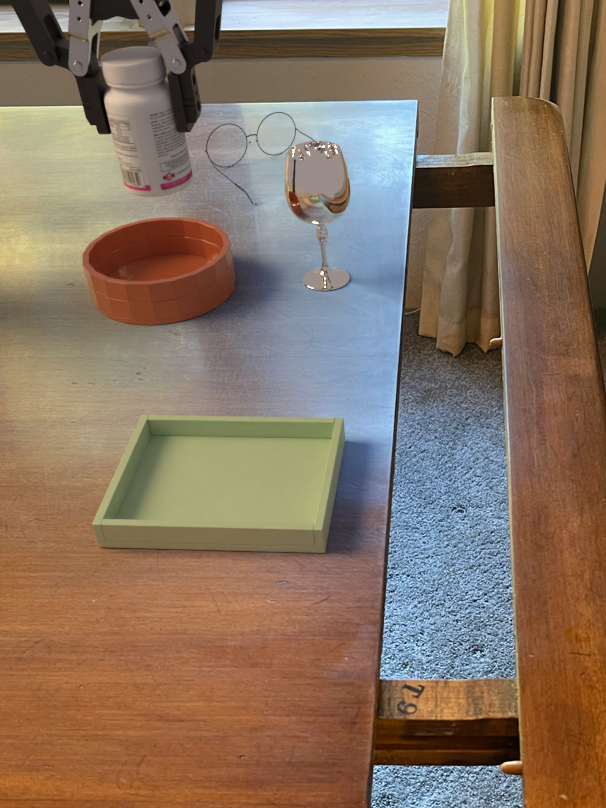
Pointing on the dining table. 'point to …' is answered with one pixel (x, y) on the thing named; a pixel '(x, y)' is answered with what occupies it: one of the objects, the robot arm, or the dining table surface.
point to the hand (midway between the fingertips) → (146, 128)
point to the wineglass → (318, 200)
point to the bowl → (159, 270)
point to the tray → (224, 484)
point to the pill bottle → (144, 122)
